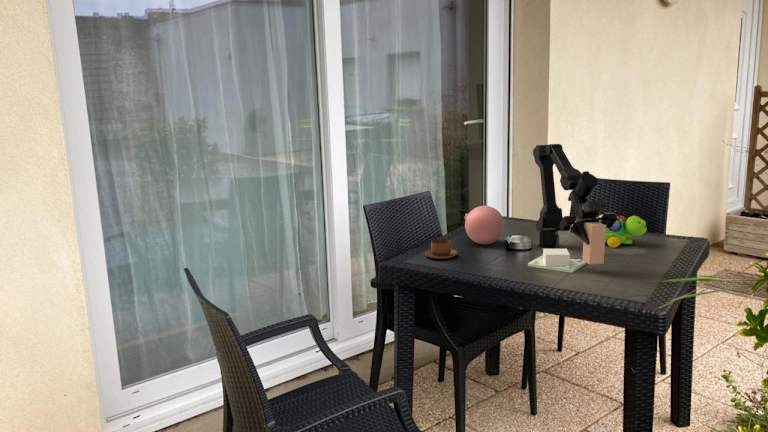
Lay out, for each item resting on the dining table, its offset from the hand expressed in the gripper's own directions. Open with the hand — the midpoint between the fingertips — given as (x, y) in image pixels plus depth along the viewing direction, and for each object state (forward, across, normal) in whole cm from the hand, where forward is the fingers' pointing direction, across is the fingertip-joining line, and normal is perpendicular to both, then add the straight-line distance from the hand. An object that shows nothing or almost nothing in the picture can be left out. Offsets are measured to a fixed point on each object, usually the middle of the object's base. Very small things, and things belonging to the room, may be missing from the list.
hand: (596, 243), depth 208 cm
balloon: (-28, -23, +42) cm, 56 cm away
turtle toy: (-16, +26, +31) cm, 44 cm away
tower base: (-1, -8, +15) cm, 17 cm away
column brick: (+4, 0, +6) cm, 7 cm away
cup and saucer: (-17, -44, +31) cm, 56 cm away
